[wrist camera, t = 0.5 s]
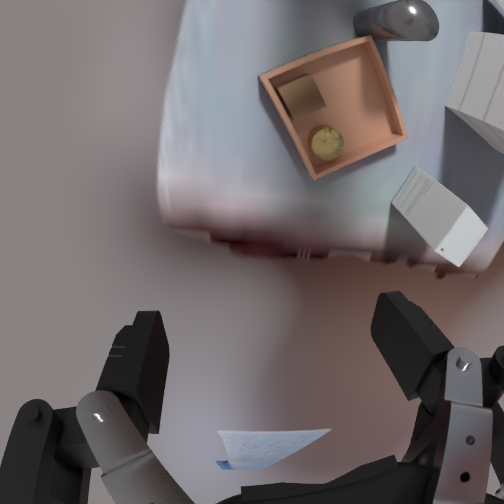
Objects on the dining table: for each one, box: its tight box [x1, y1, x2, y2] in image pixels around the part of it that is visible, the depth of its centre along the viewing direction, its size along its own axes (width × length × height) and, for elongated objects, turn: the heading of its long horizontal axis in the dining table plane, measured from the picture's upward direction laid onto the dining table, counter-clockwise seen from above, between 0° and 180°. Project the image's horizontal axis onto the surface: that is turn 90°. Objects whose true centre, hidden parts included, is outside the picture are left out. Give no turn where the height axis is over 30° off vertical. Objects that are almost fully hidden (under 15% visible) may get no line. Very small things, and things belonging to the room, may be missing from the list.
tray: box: [258, 35, 408, 181], centre depth 29 cm, size 14×14×3 cm
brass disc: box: [308, 125, 344, 160], centre depth 32 cm, size 4×4×2 cm
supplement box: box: [391, 166, 488, 267], centre depth 34 cm, size 7×7×13 cm
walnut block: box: [275, 74, 326, 120], centre depth 28 cm, size 4×4×2 cm
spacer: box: [353, 0, 439, 42], centre depth 20 cm, size 5×5×11 cm
